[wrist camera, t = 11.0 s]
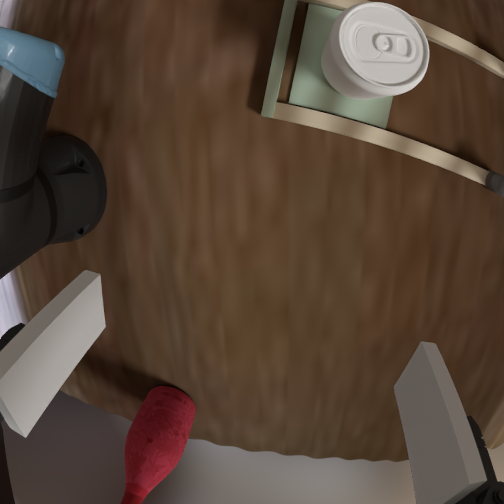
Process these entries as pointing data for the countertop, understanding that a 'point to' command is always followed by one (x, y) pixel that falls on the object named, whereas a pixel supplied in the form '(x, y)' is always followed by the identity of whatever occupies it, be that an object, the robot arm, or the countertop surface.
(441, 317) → the countertop surface
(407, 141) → the bay
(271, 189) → the countertop surface
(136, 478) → the wine bottle
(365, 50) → the beverage can
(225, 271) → the countertop surface
